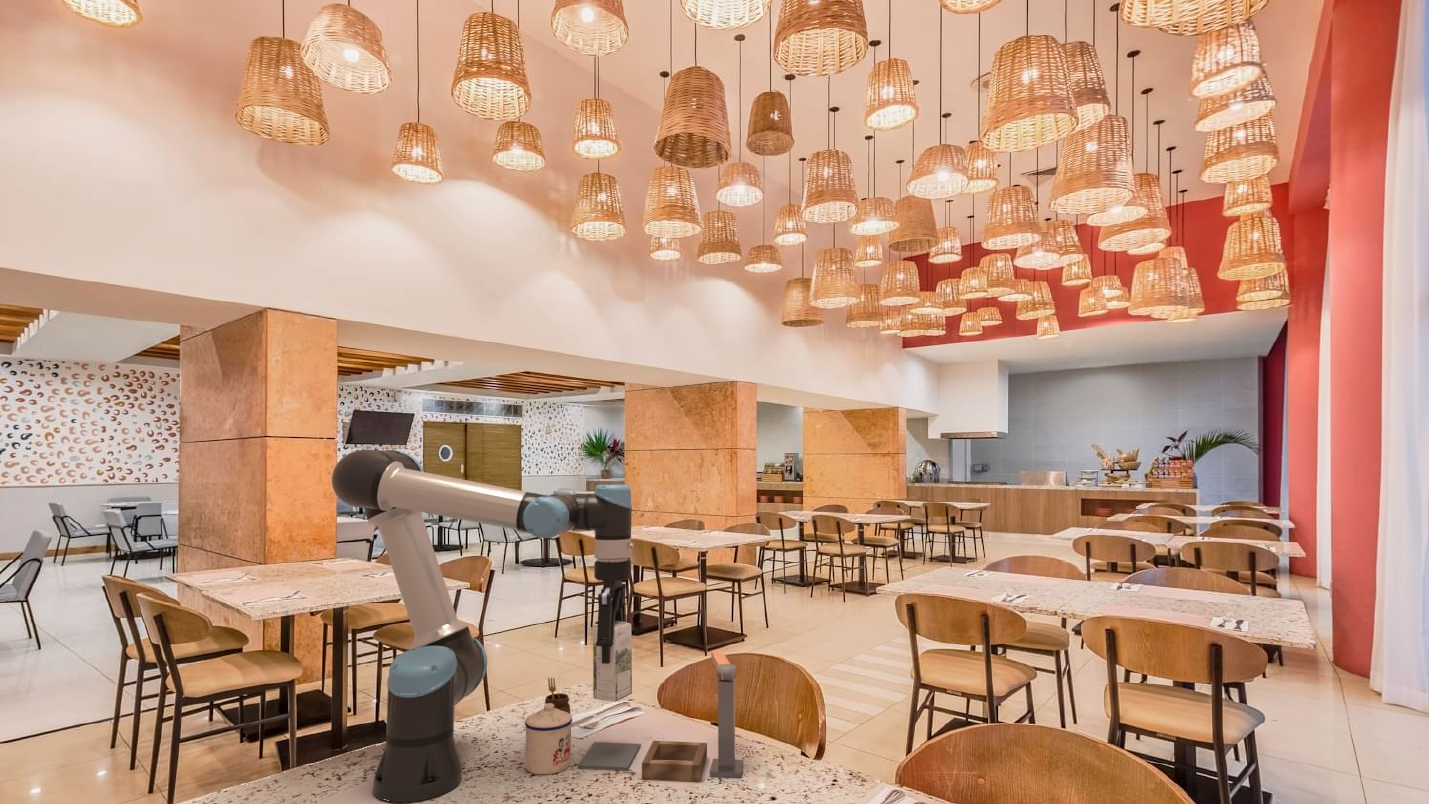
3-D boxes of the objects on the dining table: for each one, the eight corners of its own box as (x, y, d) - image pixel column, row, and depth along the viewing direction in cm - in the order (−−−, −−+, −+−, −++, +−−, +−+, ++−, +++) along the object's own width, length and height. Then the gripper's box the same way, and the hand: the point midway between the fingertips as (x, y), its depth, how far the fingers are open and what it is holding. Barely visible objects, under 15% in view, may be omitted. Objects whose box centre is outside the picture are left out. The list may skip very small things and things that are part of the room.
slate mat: (577, 768, 138) (577, 765, 138) (594, 744, 150) (594, 741, 150) (627, 770, 137) (627, 767, 137) (640, 746, 149) (640, 743, 149)
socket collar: (641, 779, 133) (641, 762, 133) (653, 755, 144) (653, 740, 144) (700, 782, 132) (699, 765, 132) (707, 758, 143) (707, 742, 143)
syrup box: (610, 690, 148) (608, 619, 150) (633, 694, 145) (631, 622, 147) (592, 699, 143) (591, 625, 145) (616, 703, 140) (615, 627, 142)
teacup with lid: (560, 777, 134) (561, 713, 135) (515, 774, 135) (517, 710, 136) (583, 752, 145) (584, 694, 147) (541, 749, 147) (543, 691, 148)
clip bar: (708, 657, 152) (708, 648, 153) (725, 657, 153) (725, 647, 153) (718, 680, 136) (718, 669, 136) (737, 679, 137) (737, 668, 137)
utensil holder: (574, 725, 161) (575, 670, 162) (562, 735, 155) (563, 678, 156) (550, 723, 162) (551, 669, 164) (537, 733, 156) (538, 676, 158)
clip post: (709, 776, 134) (709, 683, 136) (713, 763, 140) (713, 674, 142) (741, 778, 133) (740, 684, 135) (743, 765, 139) (743, 675, 141)
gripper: (618, 566, 137) (617, 689, 134) (640, 553, 156) (640, 661, 154) (580, 565, 137) (579, 688, 135) (607, 553, 157) (606, 660, 155)
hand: (611, 673), depth 145 cm, fingers closed on syrup box, 7 cm apart
